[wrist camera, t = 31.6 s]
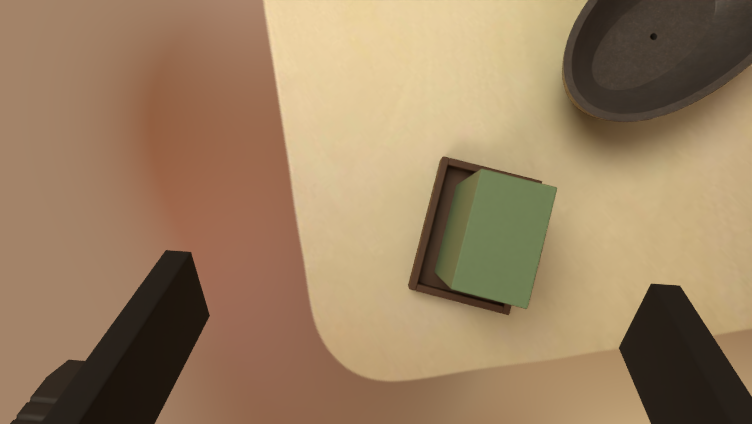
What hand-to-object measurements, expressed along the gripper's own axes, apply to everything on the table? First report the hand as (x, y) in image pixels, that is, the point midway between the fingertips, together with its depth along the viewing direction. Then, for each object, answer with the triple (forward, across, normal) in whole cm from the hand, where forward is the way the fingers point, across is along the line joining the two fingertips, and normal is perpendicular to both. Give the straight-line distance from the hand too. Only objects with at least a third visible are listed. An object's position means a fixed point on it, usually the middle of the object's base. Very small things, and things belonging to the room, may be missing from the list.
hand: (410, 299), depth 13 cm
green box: (+22, +6, -15) cm, 27 cm away
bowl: (+34, +20, -1) cm, 40 cm away
